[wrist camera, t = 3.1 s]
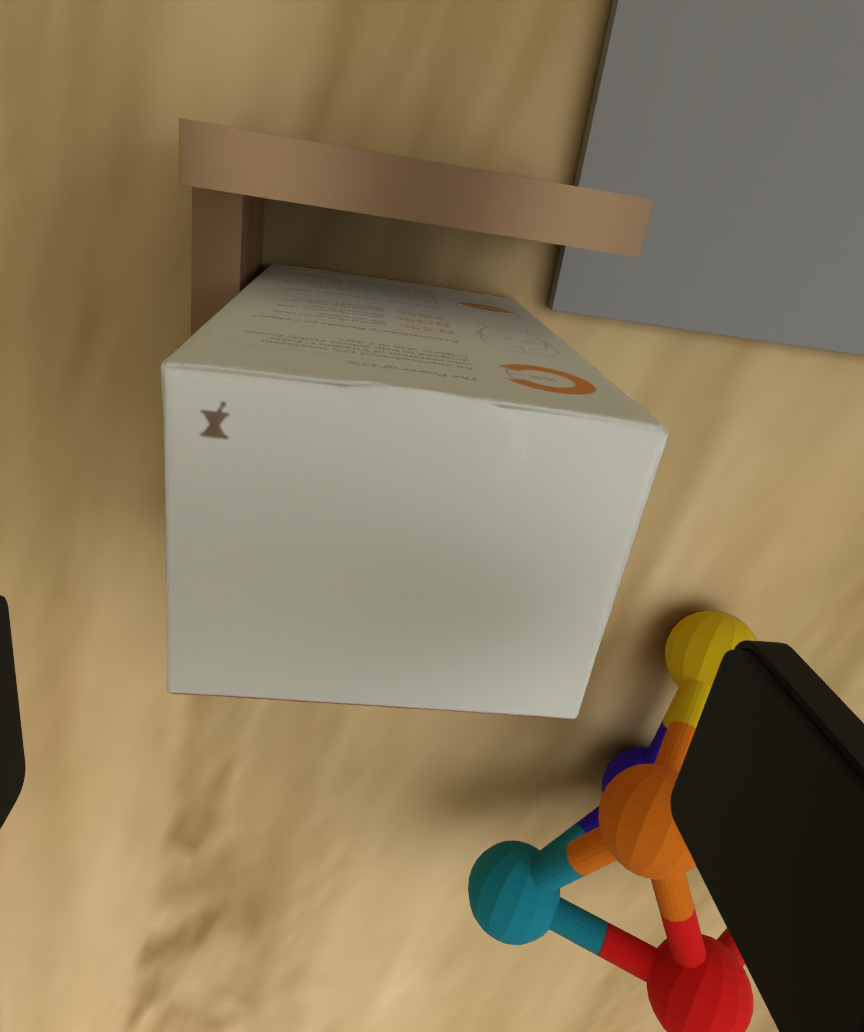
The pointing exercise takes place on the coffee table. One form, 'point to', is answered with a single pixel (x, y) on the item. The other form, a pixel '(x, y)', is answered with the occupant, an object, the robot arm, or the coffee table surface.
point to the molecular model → (634, 860)
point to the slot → (370, 201)
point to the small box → (393, 499)
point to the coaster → (730, 170)
